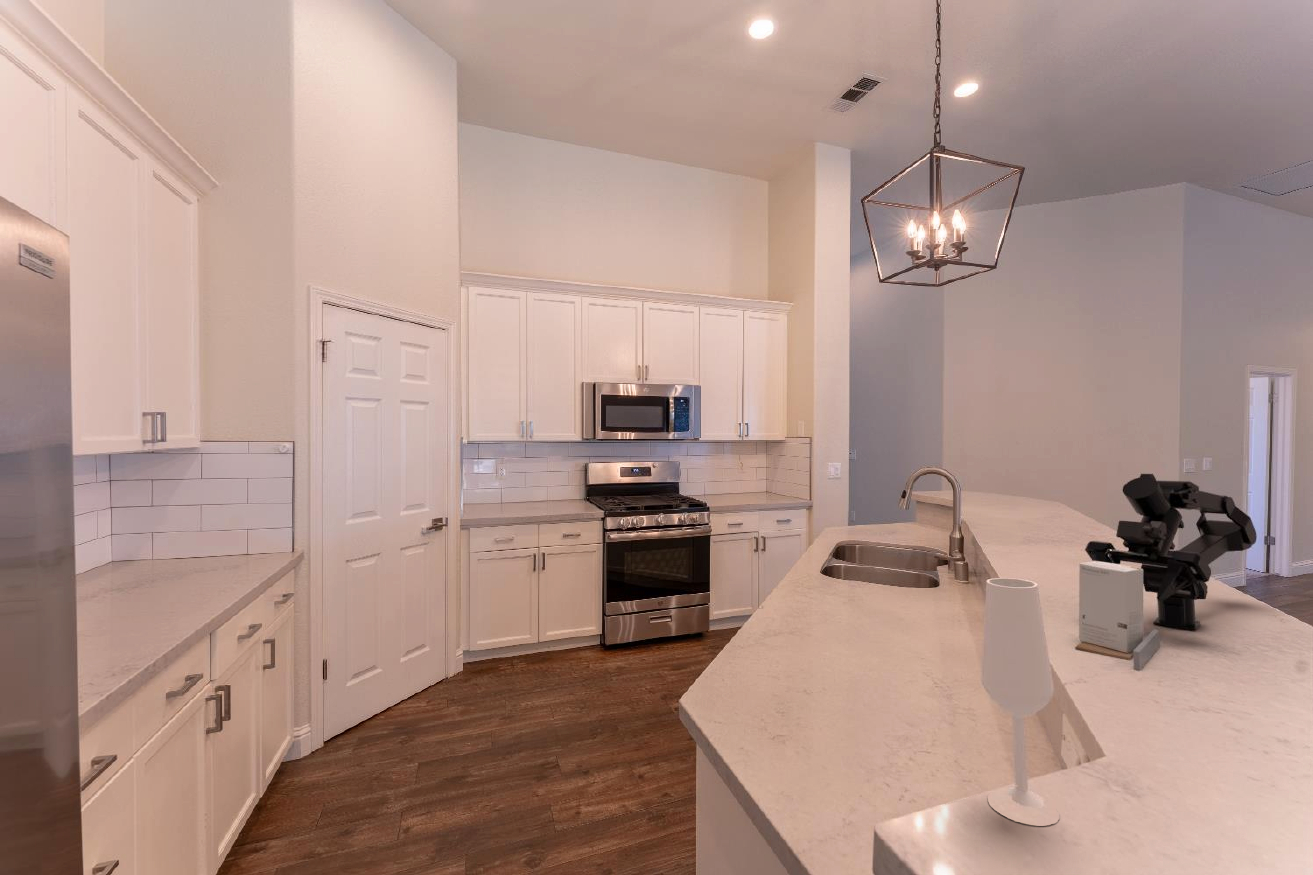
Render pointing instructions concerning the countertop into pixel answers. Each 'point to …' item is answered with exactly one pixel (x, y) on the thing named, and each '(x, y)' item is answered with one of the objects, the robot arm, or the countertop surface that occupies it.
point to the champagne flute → (1016, 665)
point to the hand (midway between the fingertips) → (1129, 594)
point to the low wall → (1146, 649)
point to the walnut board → (1103, 650)
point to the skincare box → (1111, 605)
